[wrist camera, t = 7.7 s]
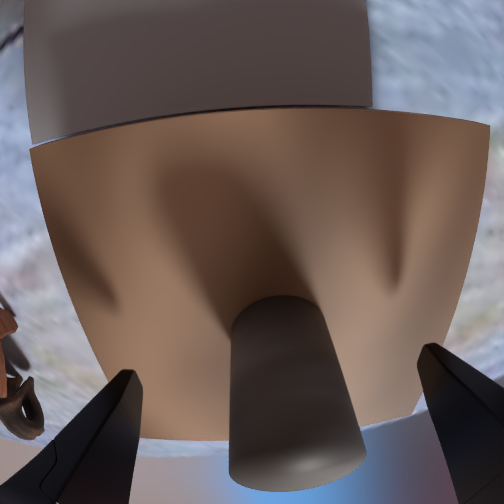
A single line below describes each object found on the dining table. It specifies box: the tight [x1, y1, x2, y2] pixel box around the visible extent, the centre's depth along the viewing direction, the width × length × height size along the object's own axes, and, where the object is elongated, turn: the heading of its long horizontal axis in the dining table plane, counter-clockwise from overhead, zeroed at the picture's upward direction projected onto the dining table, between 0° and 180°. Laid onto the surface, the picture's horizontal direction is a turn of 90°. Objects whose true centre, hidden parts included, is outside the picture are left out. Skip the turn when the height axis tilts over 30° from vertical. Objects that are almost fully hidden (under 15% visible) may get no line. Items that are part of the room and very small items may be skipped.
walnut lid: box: [29, 108, 490, 492], centre depth 9 cm, size 14×14×6 cm
